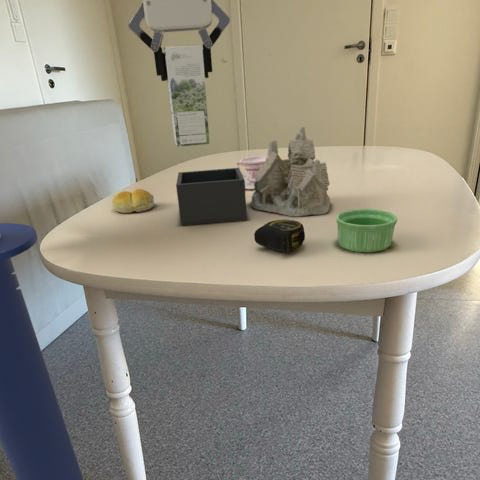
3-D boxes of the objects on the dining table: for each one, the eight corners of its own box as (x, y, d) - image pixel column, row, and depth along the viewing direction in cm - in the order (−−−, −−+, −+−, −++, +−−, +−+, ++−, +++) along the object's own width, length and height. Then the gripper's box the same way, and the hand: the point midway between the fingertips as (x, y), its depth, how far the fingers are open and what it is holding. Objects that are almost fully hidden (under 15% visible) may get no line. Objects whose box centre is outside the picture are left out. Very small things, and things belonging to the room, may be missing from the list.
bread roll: (116, 205, 102) (113, 188, 100) (155, 202, 102) (153, 184, 100) (110, 215, 95) (106, 196, 93) (152, 212, 95) (149, 193, 93)
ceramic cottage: (251, 197, 100) (250, 125, 92) (325, 197, 99) (331, 124, 91) (248, 222, 87) (247, 141, 78) (334, 222, 86) (341, 139, 77)
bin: (181, 225, 85) (176, 185, 81) (182, 208, 96) (178, 172, 92) (246, 220, 85) (244, 179, 82) (241, 204, 96) (238, 167, 93)
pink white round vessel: (281, 178, 117) (281, 154, 114) (280, 189, 106) (280, 162, 103) (236, 180, 118) (234, 156, 115) (231, 191, 108) (229, 164, 105)
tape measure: (252, 248, 71) (251, 226, 69) (282, 237, 75) (281, 216, 73) (283, 258, 67) (283, 234, 65) (313, 246, 70) (314, 223, 69)
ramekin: (378, 258, 64) (381, 229, 62) (324, 247, 70) (325, 220, 68) (403, 240, 70) (407, 213, 68) (352, 232, 75) (353, 206, 73)
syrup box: (206, 140, 80) (197, 45, 73) (210, 144, 75) (202, 43, 68) (174, 143, 79) (162, 47, 72) (176, 147, 74) (164, 45, 67)
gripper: (229, -61, 67) (237, 76, 76) (114, -54, 66) (135, 82, 75) (232, -76, 60) (240, 75, 69) (104, -68, 60) (128, 83, 68)
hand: (185, 78), depth 72 cm, fingers closed on syrup box, 6 cm apart
